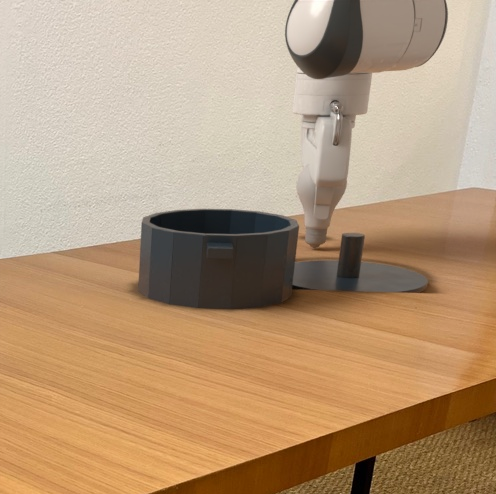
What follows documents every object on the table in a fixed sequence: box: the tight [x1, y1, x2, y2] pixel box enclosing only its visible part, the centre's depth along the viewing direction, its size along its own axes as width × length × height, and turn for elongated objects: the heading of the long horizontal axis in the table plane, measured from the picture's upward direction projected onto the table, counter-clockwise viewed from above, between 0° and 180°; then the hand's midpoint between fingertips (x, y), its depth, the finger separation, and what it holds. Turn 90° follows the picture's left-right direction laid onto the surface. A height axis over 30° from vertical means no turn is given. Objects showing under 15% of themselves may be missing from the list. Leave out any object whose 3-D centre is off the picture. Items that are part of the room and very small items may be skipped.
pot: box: [137, 208, 300, 310], centre depth 109 cm, size 16×21×8 cm
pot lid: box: [292, 232, 429, 294], centre depth 116 cm, size 17×17×6 cm
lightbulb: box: [295, 164, 348, 249], centre depth 134 cm, size 6×6×11 cm
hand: (317, 214), depth 134 cm, fingers closed on lightbulb, 5 cm apart
